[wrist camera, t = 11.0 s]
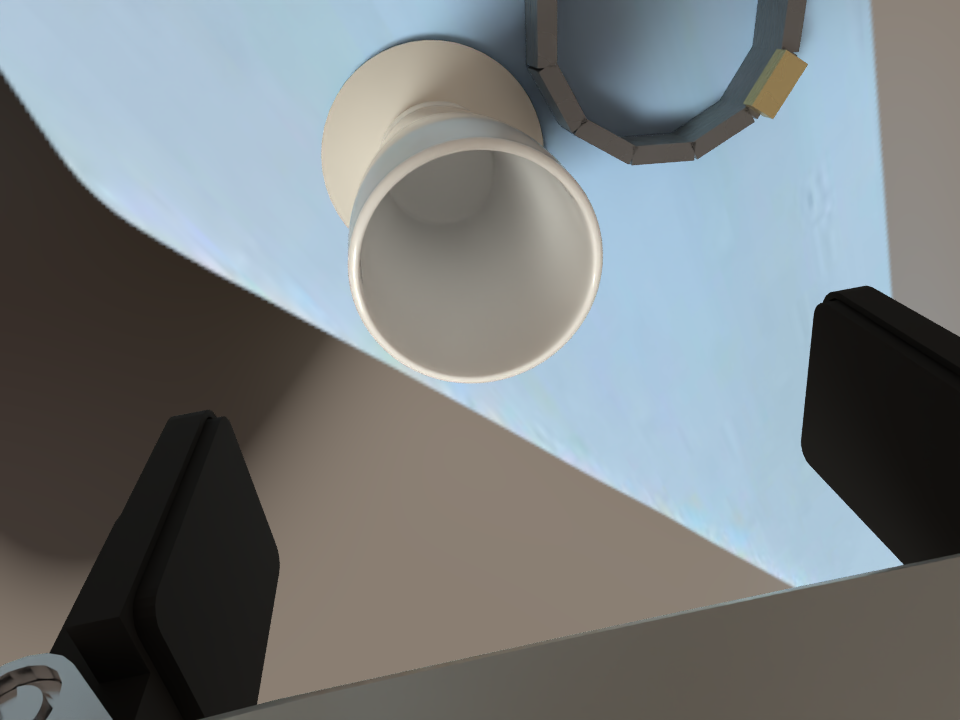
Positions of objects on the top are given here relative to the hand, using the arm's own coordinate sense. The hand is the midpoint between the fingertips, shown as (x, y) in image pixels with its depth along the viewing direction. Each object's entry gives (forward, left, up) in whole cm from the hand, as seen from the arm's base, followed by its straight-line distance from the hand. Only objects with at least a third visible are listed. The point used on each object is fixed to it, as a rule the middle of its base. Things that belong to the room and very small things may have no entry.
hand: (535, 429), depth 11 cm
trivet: (0, 0, -23) cm, 23 cm away
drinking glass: (0, 0, -23) cm, 23 cm away
